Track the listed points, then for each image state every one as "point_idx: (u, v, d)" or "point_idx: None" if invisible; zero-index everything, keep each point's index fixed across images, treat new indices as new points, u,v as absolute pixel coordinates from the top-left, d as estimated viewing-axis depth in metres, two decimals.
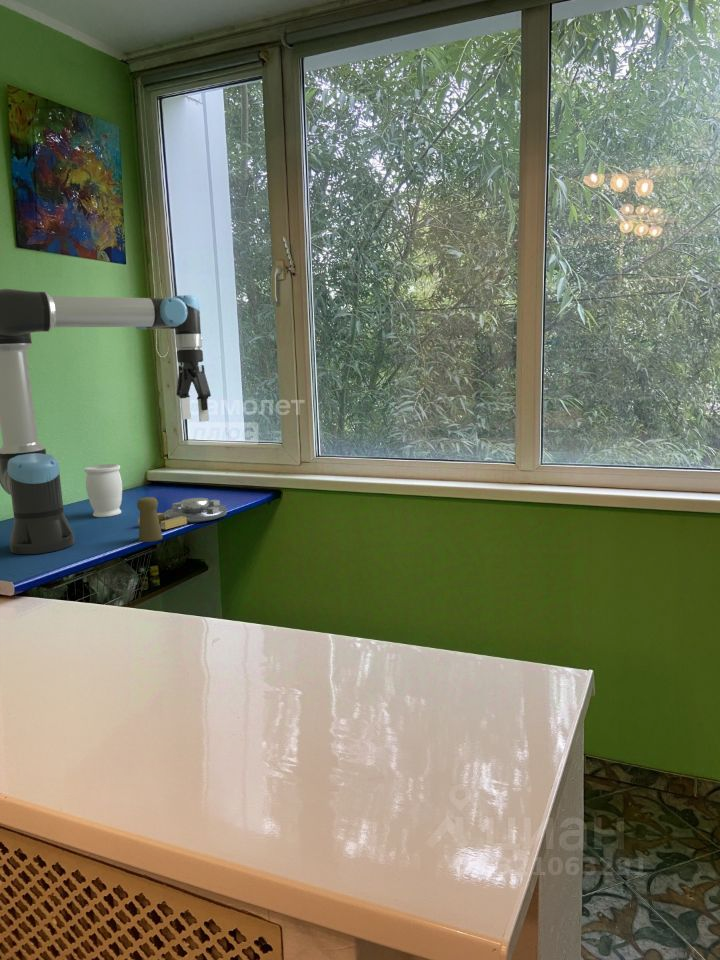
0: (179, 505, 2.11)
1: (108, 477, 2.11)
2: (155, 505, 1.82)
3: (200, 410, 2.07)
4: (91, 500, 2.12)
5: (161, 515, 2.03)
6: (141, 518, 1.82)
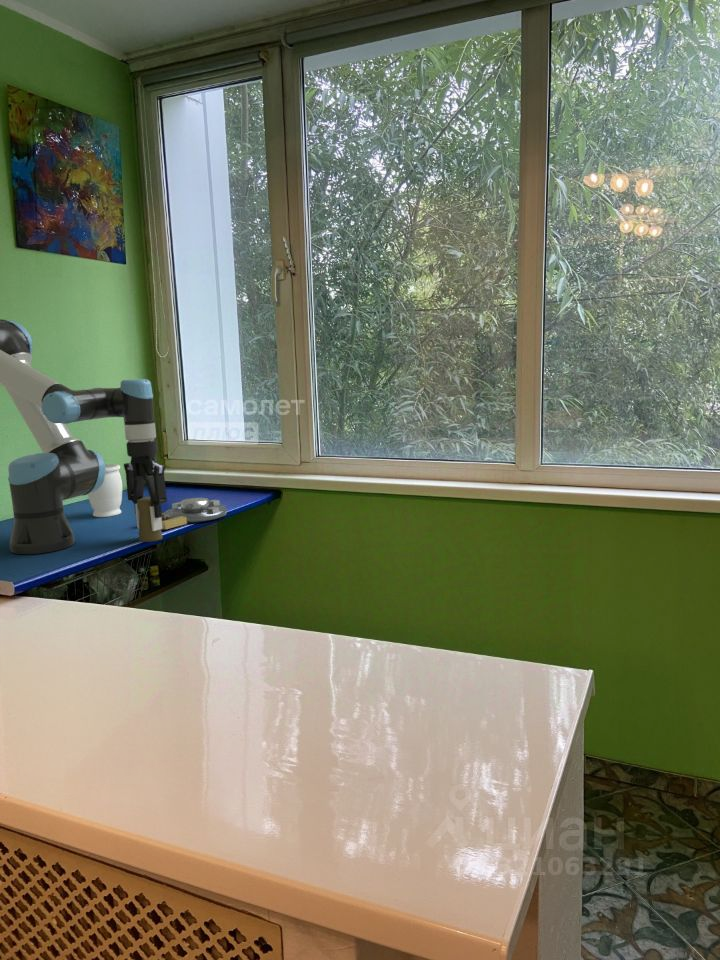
0: (179, 505, 2.11)
1: (108, 477, 2.11)
2: None
3: (153, 518, 1.81)
4: (91, 500, 2.12)
5: None
6: (141, 518, 1.82)
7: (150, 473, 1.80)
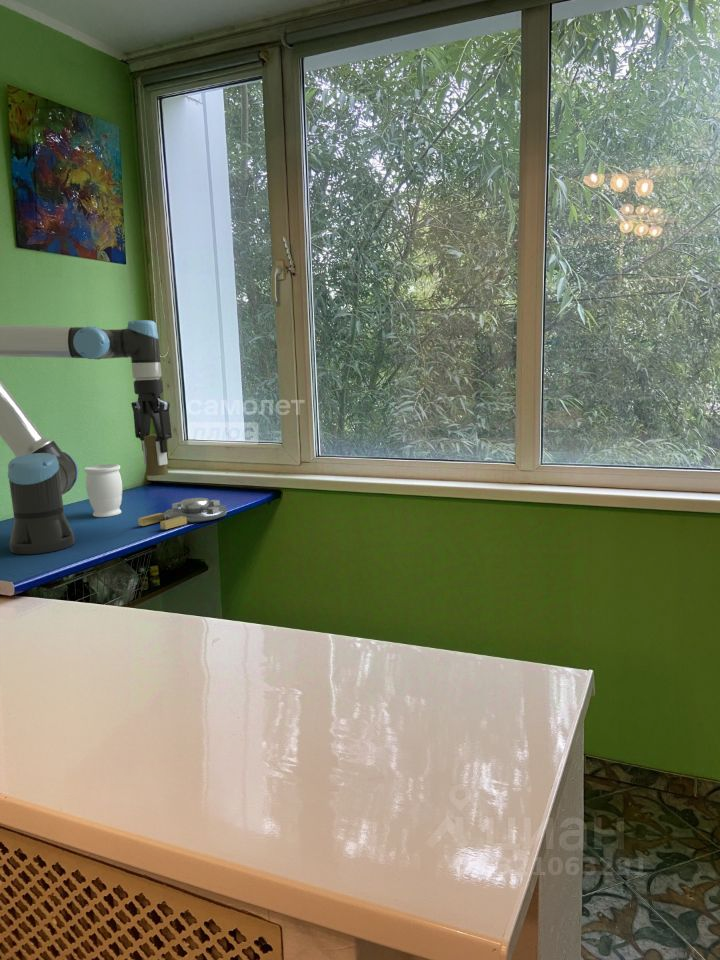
0: (179, 505, 2.11)
1: (108, 477, 2.11)
2: None
3: (159, 453, 1.91)
4: (91, 500, 2.12)
5: (161, 515, 2.03)
6: (148, 453, 1.92)
7: (156, 410, 1.90)
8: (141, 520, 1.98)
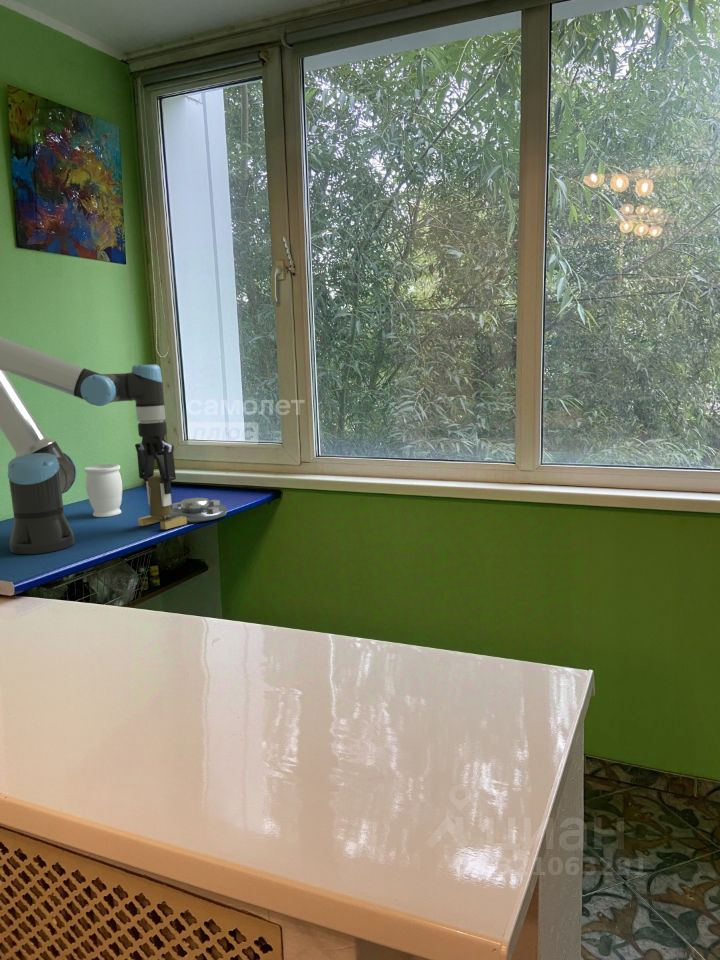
0: (179, 505, 2.11)
1: (108, 477, 2.11)
2: None
3: (163, 494, 1.94)
4: (91, 500, 2.12)
5: None
6: (152, 494, 1.95)
7: (160, 452, 1.93)
8: (141, 520, 1.98)
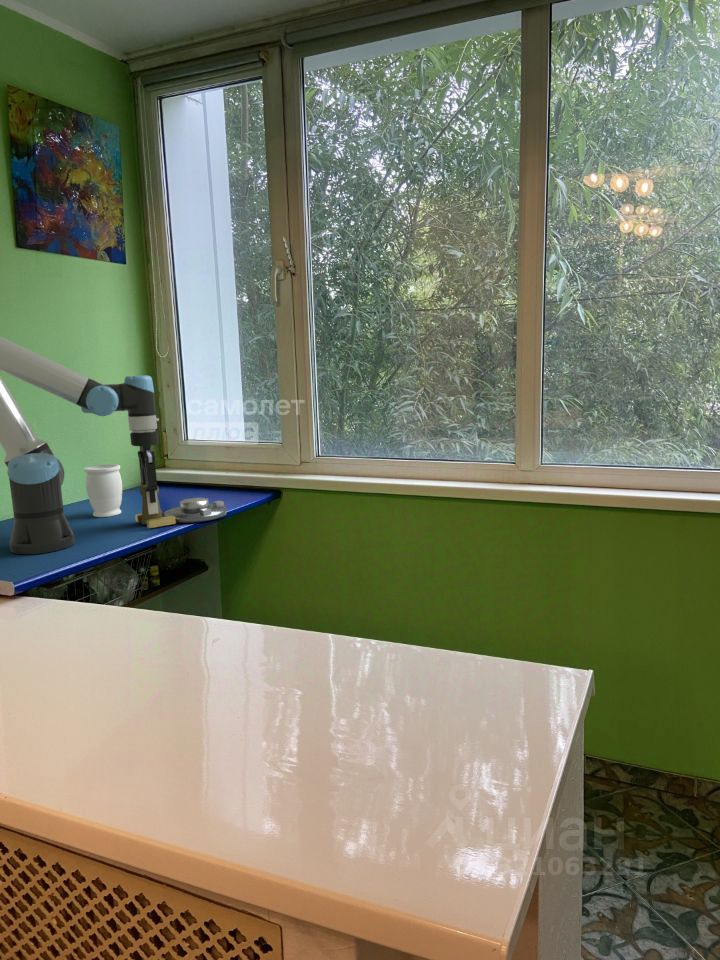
0: None
1: (108, 477, 2.11)
2: None
3: (148, 502, 1.98)
4: (91, 500, 2.12)
5: None
6: (142, 502, 2.00)
7: None
8: (136, 517, 2.02)
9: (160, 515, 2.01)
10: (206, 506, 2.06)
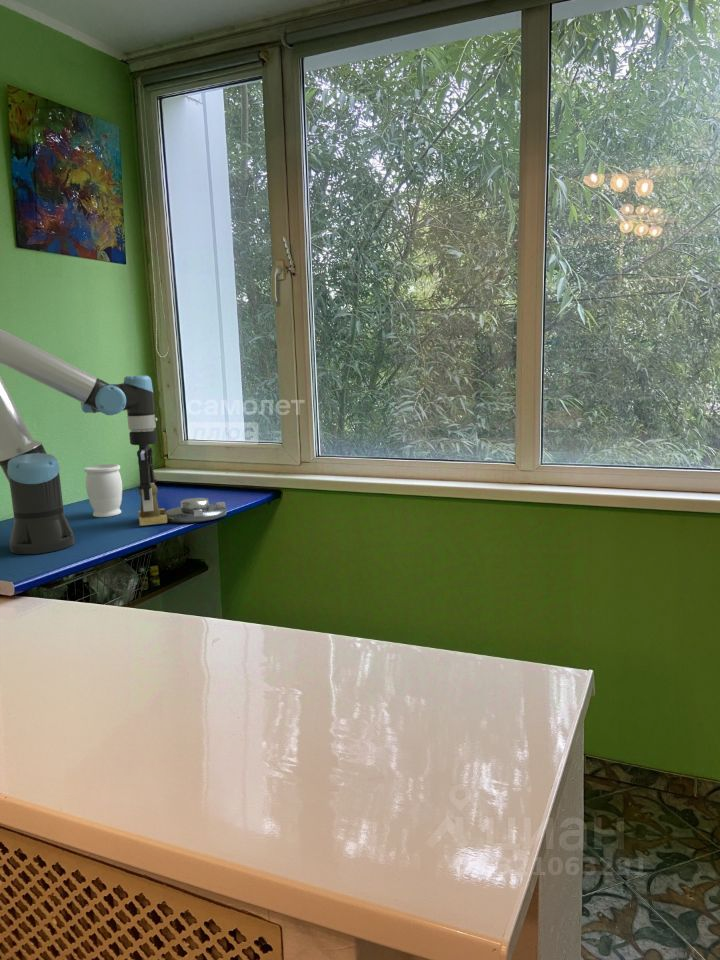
0: None
1: (108, 477, 2.11)
2: None
3: (143, 500, 2.00)
4: (91, 500, 2.12)
5: (161, 511, 2.09)
6: (141, 502, 2.03)
7: None
8: (138, 513, 2.07)
9: None
10: (203, 507, 2.05)
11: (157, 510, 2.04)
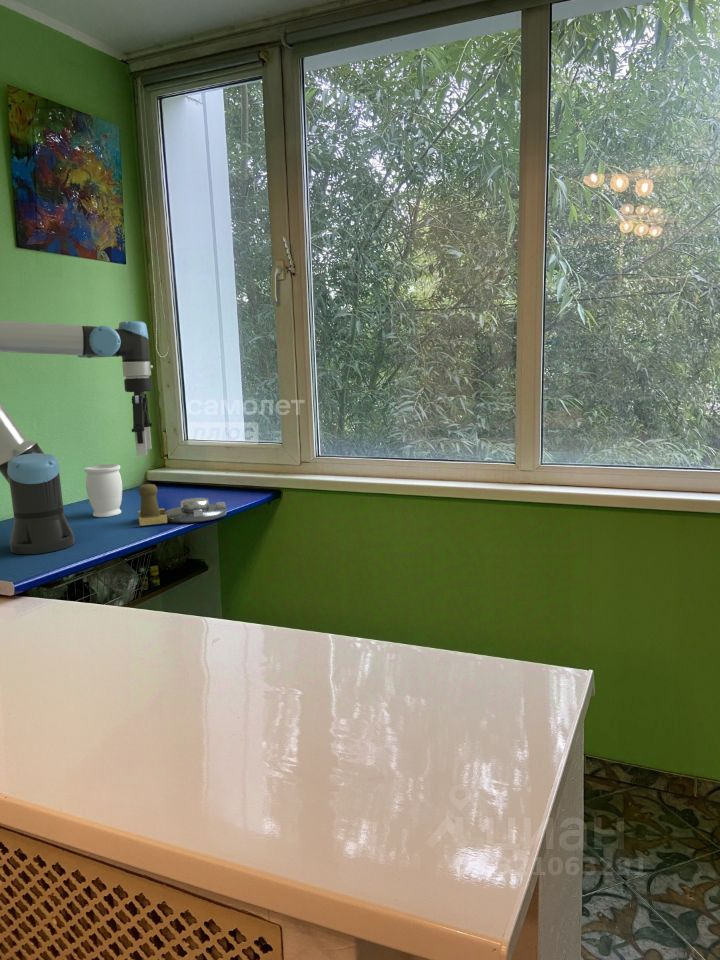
0: None
1: (108, 477, 2.11)
2: (149, 492, 2.01)
3: (136, 443, 1.95)
4: (91, 500, 2.12)
5: (161, 511, 2.09)
6: (141, 502, 2.03)
7: None
8: (138, 513, 2.07)
9: None
10: (203, 507, 2.05)
11: (157, 510, 2.04)
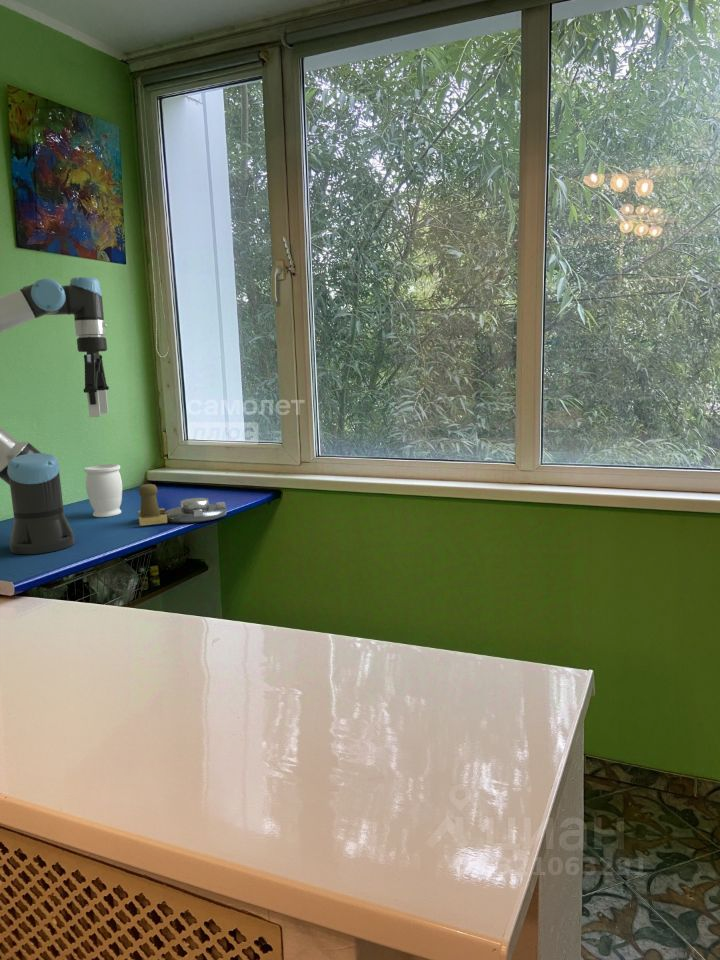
0: None
1: (108, 477, 2.11)
2: (149, 492, 2.01)
3: (89, 404, 1.87)
4: (91, 500, 2.12)
5: (161, 511, 2.09)
6: (141, 502, 2.03)
7: None
8: (138, 513, 2.07)
9: None
10: (203, 507, 2.05)
11: (157, 510, 2.04)
